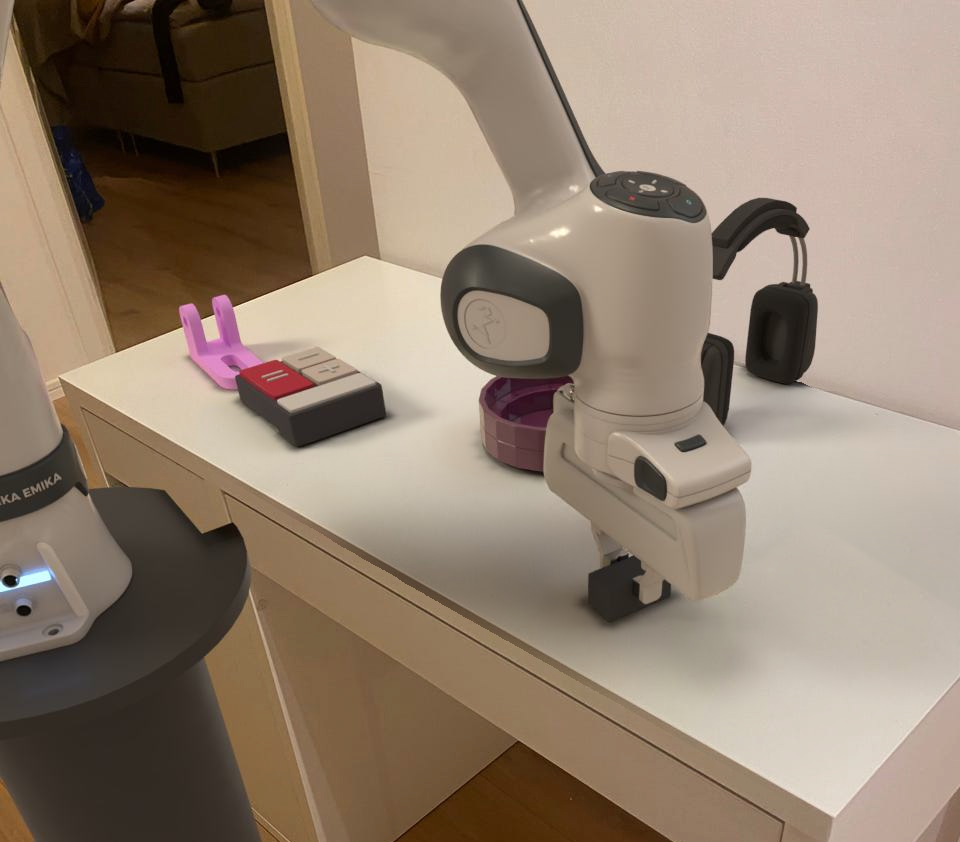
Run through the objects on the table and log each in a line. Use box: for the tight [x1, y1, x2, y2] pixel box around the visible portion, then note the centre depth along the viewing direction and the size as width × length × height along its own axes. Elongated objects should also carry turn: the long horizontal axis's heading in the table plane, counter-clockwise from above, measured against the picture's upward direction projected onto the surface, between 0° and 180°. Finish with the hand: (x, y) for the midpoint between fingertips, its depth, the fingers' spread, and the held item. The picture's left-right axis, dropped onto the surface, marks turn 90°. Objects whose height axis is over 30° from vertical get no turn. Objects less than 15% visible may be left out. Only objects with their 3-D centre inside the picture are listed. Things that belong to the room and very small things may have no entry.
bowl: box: [478, 375, 574, 472], centre depth 99 cm, size 15×15×5 cm
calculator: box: [235, 346, 387, 447], centre depth 109 cm, size 11×4×15 cm
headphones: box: [701, 197, 819, 426], centre depth 99 cm, size 22×6×20 cm, turn 135°
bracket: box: [178, 294, 264, 391], centre depth 117 cm, size 13×6×7 cm, turn 32°
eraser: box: [587, 554, 672, 623], centre depth 79 cm, size 6×3×3 cm, turn 120°
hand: (629, 584), depth 78 cm, fingers closed on eraser, 3 cm apart
